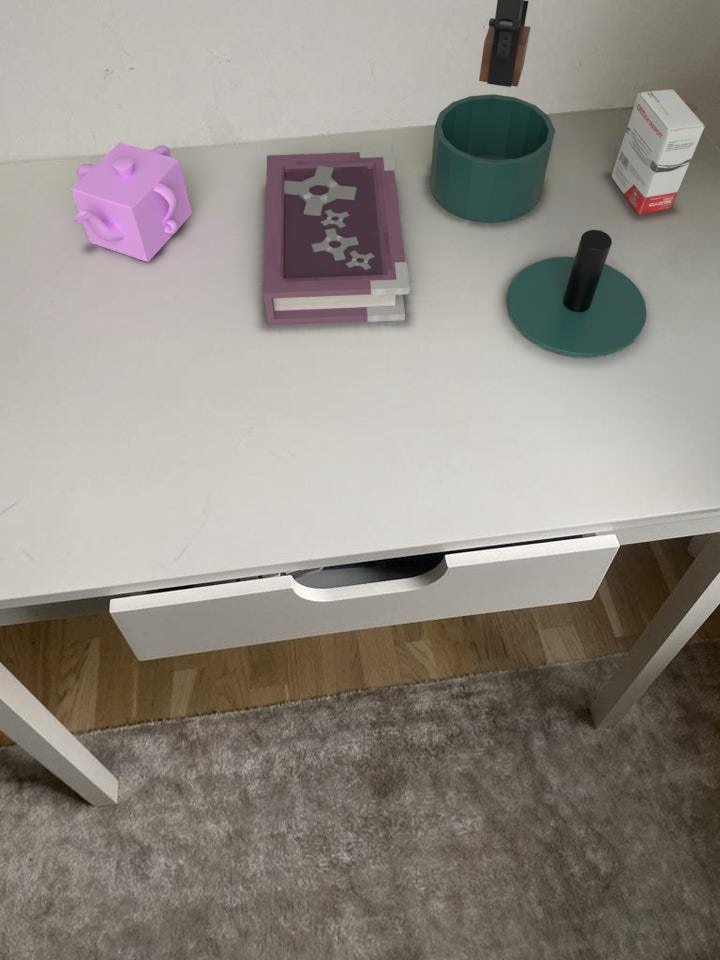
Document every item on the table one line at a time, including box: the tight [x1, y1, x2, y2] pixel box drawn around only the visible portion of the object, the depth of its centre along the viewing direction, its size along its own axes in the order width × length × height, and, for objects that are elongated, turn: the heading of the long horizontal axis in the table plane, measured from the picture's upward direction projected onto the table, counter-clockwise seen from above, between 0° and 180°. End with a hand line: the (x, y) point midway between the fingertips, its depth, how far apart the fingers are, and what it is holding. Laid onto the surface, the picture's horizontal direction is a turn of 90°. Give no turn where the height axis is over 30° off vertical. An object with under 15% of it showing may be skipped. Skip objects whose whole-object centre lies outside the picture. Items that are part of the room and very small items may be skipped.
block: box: [478, 25, 532, 88], centre depth 87 cm, size 4×4×4 cm
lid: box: [506, 229, 647, 358], centre depth 85 cm, size 16×16×10 cm
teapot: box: [70, 141, 193, 263], centre depth 92 cm, size 18×14×10 cm
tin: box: [429, 93, 556, 224], centre depth 98 cm, size 15×15×8 cm
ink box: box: [611, 88, 706, 215], centre depth 96 cm, size 8×5×12 cm, turn 14°
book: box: [262, 149, 411, 326], centre depth 93 cm, size 25×16×5 cm, turn 3°
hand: (503, 71), depth 88 cm, fingers closed on block, 4 cm apart
